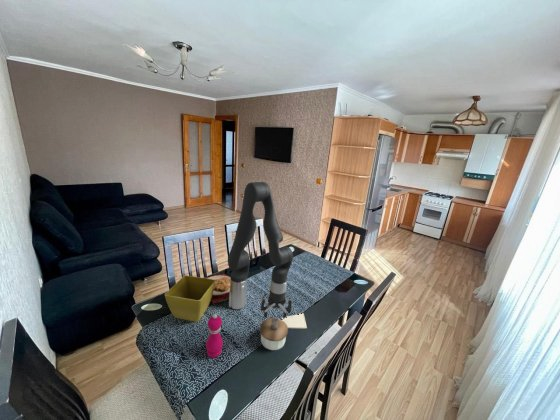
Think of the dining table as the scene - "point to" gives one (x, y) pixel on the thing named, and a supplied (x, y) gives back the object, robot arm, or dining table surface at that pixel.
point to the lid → (273, 329)
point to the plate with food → (220, 287)
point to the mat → (295, 321)
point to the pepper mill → (214, 337)
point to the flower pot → (190, 297)
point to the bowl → (272, 343)
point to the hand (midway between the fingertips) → (274, 317)
